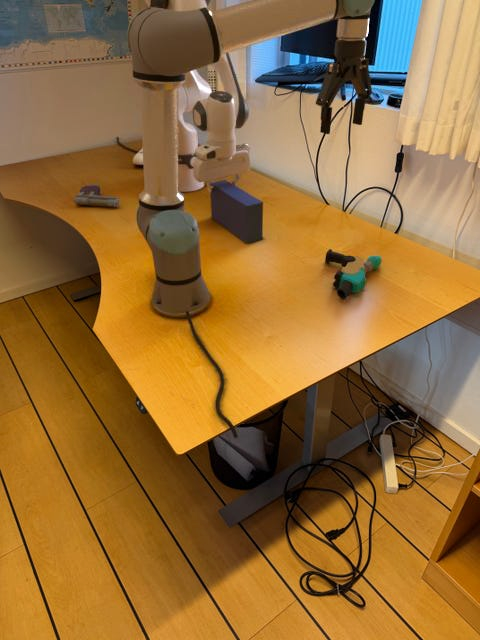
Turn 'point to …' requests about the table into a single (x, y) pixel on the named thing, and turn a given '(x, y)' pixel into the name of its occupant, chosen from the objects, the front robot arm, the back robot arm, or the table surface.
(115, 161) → the table surface
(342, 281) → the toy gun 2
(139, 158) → the sneaker
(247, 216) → the box
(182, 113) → the back robot arm
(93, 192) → the toy gun
